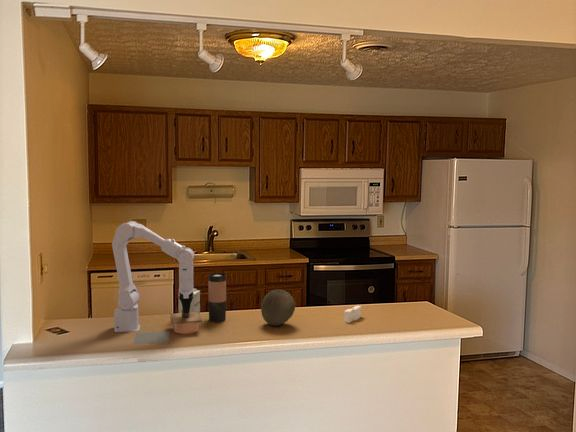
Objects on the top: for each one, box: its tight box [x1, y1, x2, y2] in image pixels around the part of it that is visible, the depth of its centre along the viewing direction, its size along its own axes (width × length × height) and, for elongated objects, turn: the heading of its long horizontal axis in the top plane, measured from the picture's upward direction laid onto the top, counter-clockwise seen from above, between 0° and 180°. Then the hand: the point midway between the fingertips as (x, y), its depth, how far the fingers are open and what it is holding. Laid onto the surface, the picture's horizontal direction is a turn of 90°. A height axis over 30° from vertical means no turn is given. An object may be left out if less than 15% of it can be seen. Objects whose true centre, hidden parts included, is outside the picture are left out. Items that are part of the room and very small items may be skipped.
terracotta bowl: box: [173, 322, 200, 335], centre depth 219 cm, size 10×10×5 cm
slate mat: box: [132, 331, 171, 345], centre depth 209 cm, size 13×13×1 cm
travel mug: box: [208, 272, 227, 323], centre depth 234 cm, size 8×8×20 cm
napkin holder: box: [343, 305, 362, 324], centre depth 238 cm, size 15×11×6 cm
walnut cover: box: [169, 309, 203, 325], centre depth 218 cm, size 12×12×4 cm
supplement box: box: [178, 289, 201, 313], centre depth 233 cm, size 7×7×13 cm
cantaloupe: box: [260, 289, 296, 327], centre depth 228 cm, size 14×14×15 cm
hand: (186, 311), depth 218 cm, fingers open, 4 cm apart
